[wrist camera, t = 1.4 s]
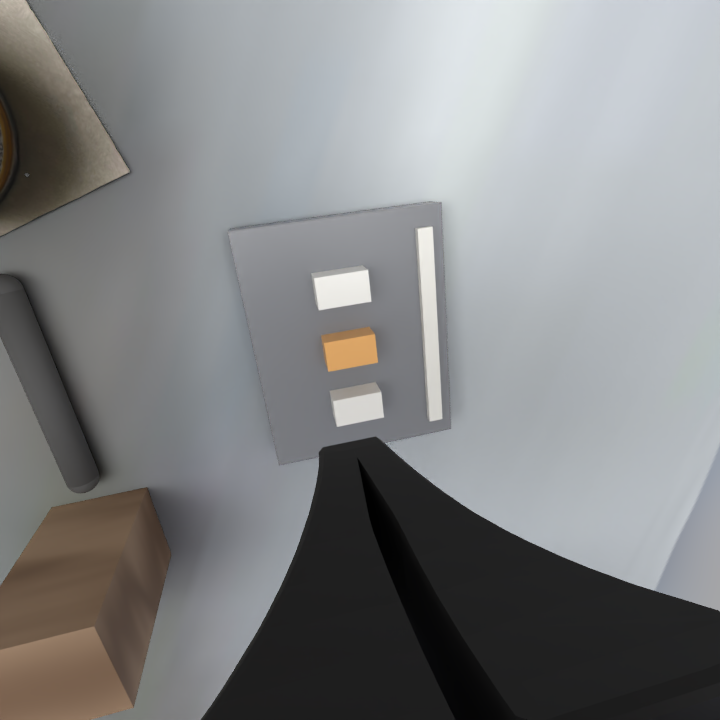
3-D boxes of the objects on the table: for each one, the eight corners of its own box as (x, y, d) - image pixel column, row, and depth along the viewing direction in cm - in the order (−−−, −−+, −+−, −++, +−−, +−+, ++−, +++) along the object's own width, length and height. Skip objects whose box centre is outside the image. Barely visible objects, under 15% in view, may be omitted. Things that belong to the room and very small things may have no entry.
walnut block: (171, 554, 22) (133, 707, 15) (83, 574, 21) (6, 742, 15) (146, 487, 20) (93, 626, 14) (51, 507, 20) (-50, 662, 13)
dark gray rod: (107, 478, 20) (98, 495, 19) (78, 484, 19) (67, 502, 18) (23, 268, 16) (5, 275, 15) (-14, 273, 16) (-34, 280, 15)
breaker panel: (441, 416, 22) (459, 439, 20) (278, 450, 21) (280, 478, 19) (430, 201, 18) (451, 203, 16) (229, 228, 17) (225, 234, 15)
